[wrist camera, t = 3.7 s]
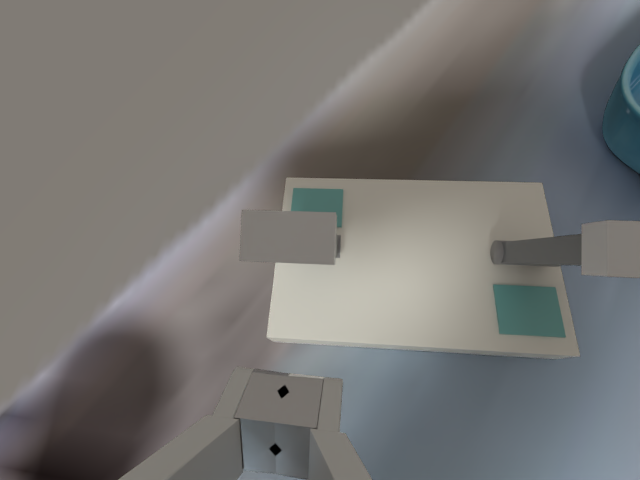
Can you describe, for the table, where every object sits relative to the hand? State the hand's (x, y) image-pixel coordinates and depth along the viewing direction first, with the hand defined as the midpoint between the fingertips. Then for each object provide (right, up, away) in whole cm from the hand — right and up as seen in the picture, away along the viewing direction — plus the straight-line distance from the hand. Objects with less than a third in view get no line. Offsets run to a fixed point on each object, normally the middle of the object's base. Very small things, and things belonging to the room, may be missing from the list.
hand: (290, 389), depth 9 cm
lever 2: (+16, +3, +16) cm, 23 cm away
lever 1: (0, +4, +17) cm, 17 cm away
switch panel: (+8, +2, +20) cm, 22 cm away
